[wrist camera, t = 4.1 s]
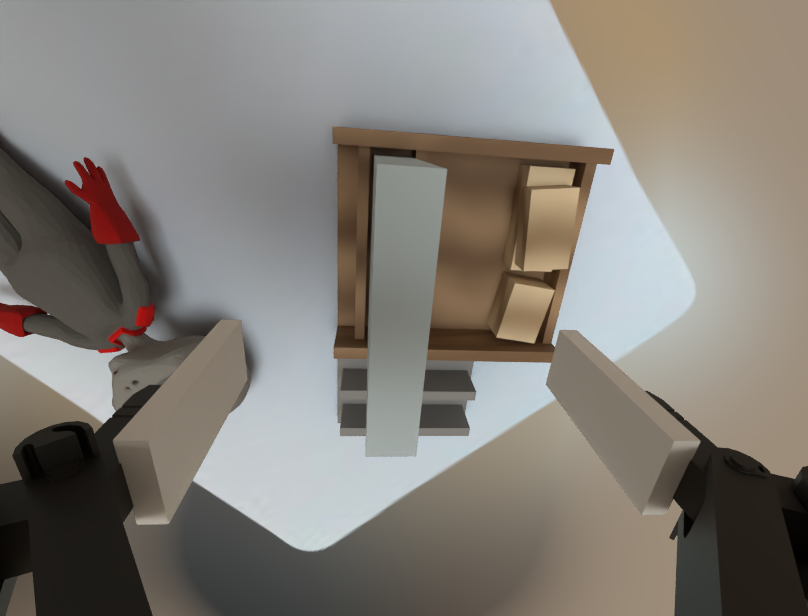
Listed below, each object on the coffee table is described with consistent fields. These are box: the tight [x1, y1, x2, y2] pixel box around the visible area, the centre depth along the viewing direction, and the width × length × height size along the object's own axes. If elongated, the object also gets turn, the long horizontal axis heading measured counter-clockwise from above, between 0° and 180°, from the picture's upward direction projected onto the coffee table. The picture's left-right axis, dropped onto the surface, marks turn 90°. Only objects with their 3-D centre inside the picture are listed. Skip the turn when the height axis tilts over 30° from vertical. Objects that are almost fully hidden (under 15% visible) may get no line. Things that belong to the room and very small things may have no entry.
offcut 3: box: [487, 272, 555, 343], centre depth 33 cm, size 5×4×3 cm
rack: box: [333, 127, 614, 363], centre depth 30 cm, size 17×19×5 cm
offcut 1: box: [503, 165, 576, 272], centre depth 30 cm, size 8×4×2 cm, turn 176°
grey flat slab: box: [366, 154, 447, 457], centre depth 24 cm, size 14×3×16 cm, turn 176°
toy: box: [0, 148, 251, 413], centre depth 29 cm, size 16×10×30 cm
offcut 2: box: [515, 185, 580, 271], centre depth 29 cm, size 6×4×2 cm, turn 2°
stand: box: [338, 359, 476, 436], centre depth 36 cm, size 13×8×4 cm, turn 86°
